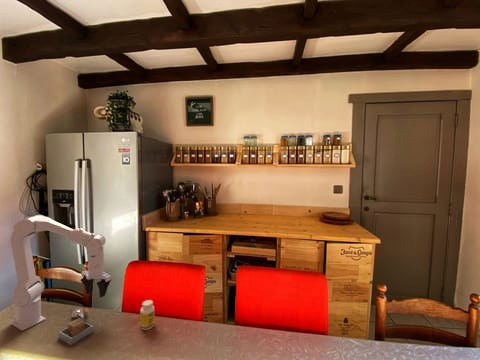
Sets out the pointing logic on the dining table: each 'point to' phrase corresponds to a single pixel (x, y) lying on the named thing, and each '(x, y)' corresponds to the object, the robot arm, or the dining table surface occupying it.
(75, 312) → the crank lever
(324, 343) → the dining table surface
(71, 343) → the tray
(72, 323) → the block
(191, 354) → the dining table surface
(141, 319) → the supplement bottle
